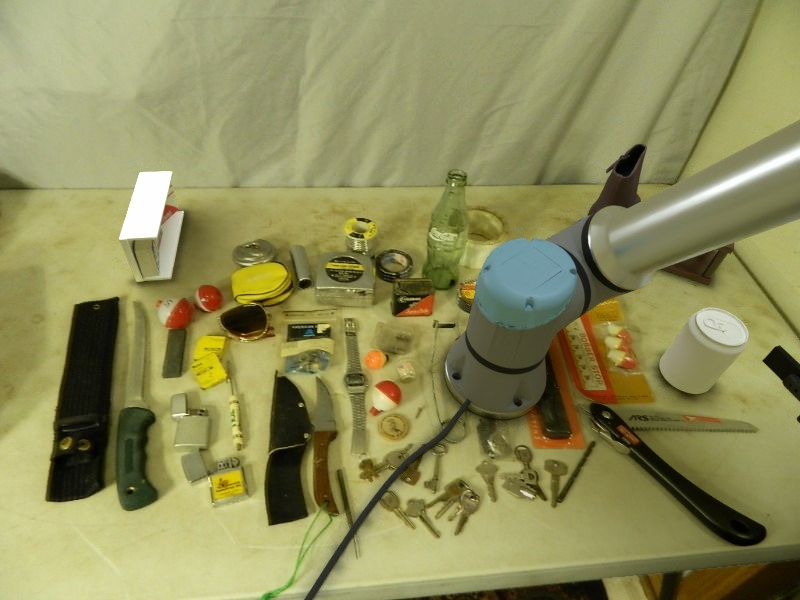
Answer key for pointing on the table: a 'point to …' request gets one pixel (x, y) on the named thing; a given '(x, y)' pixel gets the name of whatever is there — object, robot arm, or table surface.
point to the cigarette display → (152, 227)
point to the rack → (701, 265)
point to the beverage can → (703, 350)
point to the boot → (622, 181)
